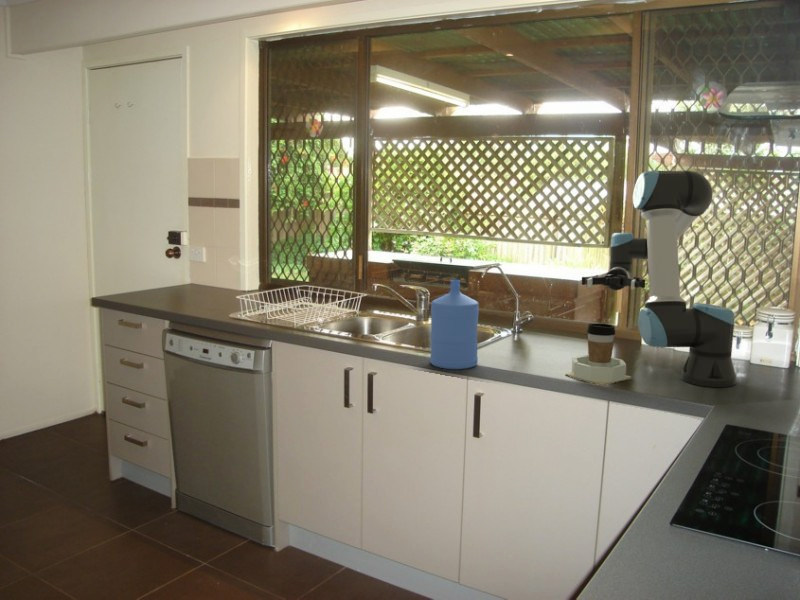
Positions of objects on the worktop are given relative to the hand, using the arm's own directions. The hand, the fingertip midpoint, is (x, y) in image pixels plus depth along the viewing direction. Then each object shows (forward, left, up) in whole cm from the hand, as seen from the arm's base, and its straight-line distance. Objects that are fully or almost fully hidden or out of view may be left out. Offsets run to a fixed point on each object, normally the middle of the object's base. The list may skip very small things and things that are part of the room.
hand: (610, 284), depth 219 cm
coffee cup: (-7, +12, -26) cm, 29 cm away
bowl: (-7, +13, -27) cm, 31 cm away
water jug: (+31, +39, -27) cm, 57 cm away
